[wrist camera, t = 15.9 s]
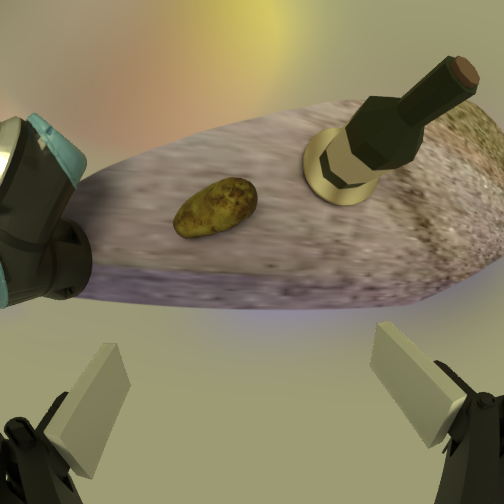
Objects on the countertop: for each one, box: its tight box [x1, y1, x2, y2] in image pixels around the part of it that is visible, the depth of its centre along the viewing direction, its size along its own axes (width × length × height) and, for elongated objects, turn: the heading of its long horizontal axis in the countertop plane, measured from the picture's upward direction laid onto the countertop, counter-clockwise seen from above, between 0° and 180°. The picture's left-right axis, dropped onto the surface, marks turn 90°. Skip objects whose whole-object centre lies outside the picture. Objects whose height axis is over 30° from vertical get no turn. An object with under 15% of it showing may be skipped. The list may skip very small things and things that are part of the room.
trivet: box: [303, 128, 379, 206], centre depth 43 cm, size 13×13×3 cm
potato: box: [173, 177, 257, 239], centre depth 40 cm, size 8×13×8 cm, turn 94°
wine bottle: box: [319, 56, 480, 189], centre depth 26 cm, size 8×8×30 cm
